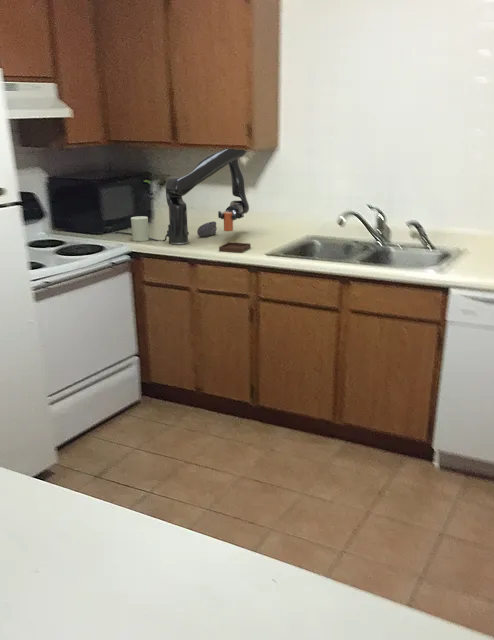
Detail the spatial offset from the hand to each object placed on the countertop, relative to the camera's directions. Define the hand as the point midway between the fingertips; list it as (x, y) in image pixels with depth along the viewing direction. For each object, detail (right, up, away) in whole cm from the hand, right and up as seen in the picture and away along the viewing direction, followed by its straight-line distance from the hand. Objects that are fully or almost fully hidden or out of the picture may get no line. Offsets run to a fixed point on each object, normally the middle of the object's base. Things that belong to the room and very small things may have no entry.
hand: (227, 217), depth 337 cm
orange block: (0, -5, +5) cm, 7 cm away
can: (-47, -6, +23) cm, 52 cm away
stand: (+4, -17, -3) cm, 18 cm away
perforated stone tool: (-12, -3, +29) cm, 32 cm away
